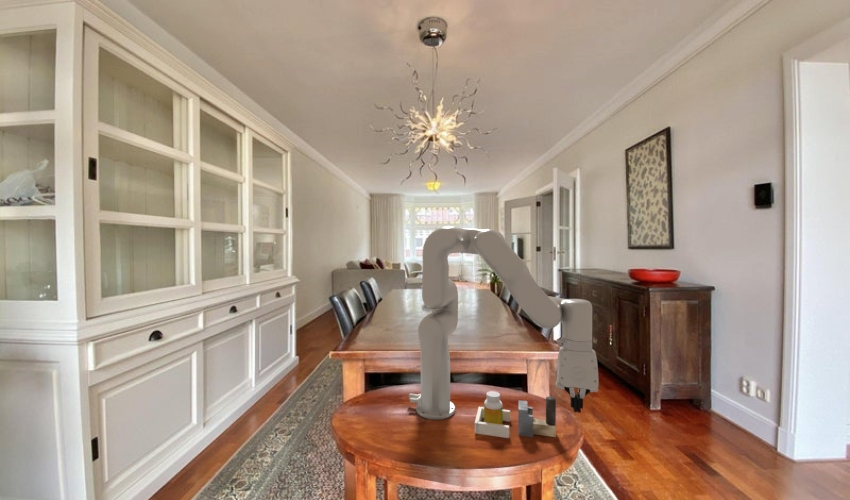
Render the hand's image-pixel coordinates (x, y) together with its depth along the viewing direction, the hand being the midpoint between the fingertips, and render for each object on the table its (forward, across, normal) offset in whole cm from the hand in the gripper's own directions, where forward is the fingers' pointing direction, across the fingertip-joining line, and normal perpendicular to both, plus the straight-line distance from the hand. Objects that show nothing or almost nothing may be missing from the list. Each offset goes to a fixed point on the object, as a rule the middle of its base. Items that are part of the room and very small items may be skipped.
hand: (576, 410), depth 93 cm
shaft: (+8, -10, 0) cm, 12 cm away
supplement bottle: (+8, -23, 0) cm, 24 cm away
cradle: (+8, -22, 0) cm, 24 cm away
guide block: (+8, -14, 0) cm, 16 cm away
